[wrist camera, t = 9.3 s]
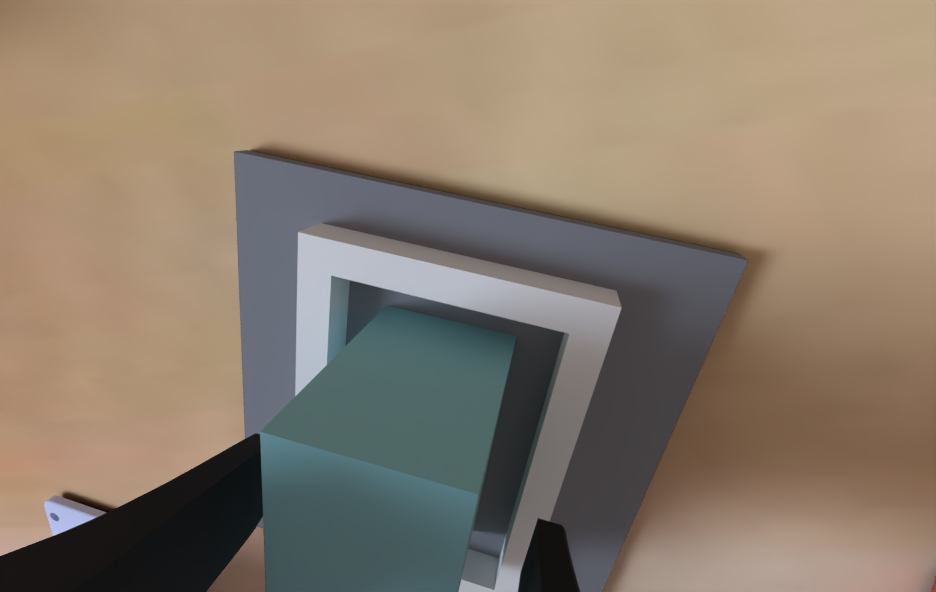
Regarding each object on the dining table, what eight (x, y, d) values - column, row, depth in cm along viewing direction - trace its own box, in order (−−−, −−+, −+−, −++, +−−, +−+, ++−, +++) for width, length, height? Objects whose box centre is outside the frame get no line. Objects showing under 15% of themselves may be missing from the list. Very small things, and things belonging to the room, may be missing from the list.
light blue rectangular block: (516, 336, 13) (478, 494, 7) (472, 530, 16) (423, 743, 10) (386, 305, 13) (260, 431, 8) (368, 499, 16) (269, 686, 11)
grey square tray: (582, 617, 17) (584, 669, 16) (257, 511, 19) (228, 548, 17) (739, 253, 11) (769, 275, 10) (247, 150, 13) (202, 153, 11)
